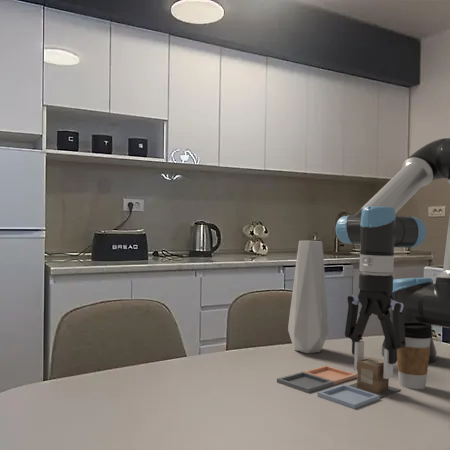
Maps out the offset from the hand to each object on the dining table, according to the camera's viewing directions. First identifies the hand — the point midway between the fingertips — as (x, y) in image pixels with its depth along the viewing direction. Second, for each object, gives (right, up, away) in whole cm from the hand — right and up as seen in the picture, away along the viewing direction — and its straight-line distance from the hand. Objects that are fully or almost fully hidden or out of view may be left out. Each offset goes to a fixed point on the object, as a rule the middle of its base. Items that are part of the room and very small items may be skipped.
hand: (373, 373), depth 117 cm
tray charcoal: (-15, -4, +3) cm, 16 cm away
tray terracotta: (-8, -4, +9) cm, 13 cm away
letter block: (0, -3, 0) cm, 3 cm away
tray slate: (-7, -4, -6) cm, 10 cm away
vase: (-10, -4, +36) cm, 37 cm away
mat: (0, -4, 0) cm, 4 cm away
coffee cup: (+10, -5, +4) cm, 12 cm away
